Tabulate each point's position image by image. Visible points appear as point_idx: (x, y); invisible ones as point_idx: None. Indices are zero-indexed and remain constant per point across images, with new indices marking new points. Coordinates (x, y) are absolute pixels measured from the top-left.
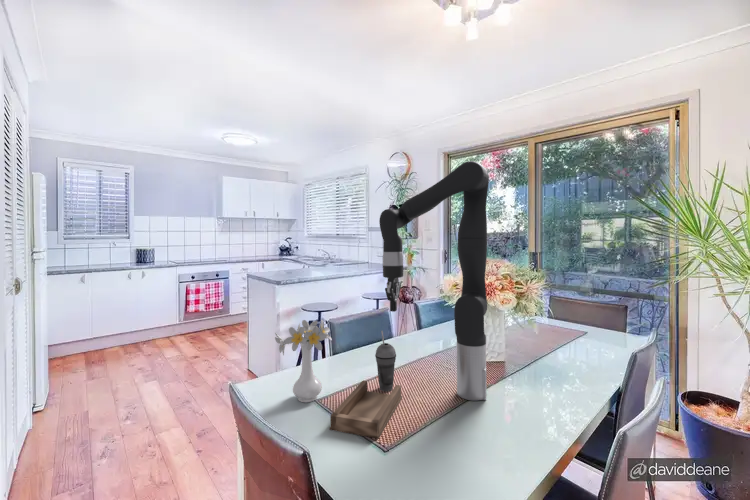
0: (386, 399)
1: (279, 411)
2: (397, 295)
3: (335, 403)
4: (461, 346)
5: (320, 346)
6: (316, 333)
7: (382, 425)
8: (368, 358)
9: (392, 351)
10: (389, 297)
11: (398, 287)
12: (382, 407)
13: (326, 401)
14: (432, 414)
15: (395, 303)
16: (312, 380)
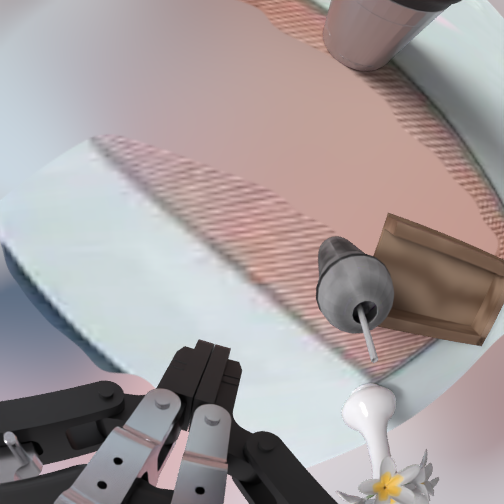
0: (459, 258)
1: (400, 412)
2: (133, 421)
3: (394, 349)
4: (440, 12)
5: (423, 457)
6: (421, 486)
7: (491, 257)
8: (131, 305)
9: (385, 275)
10: (260, 481)
11: (98, 496)
12: (483, 265)
13: (383, 365)
14: (454, 153)
15: (217, 392)
16: (386, 413)
